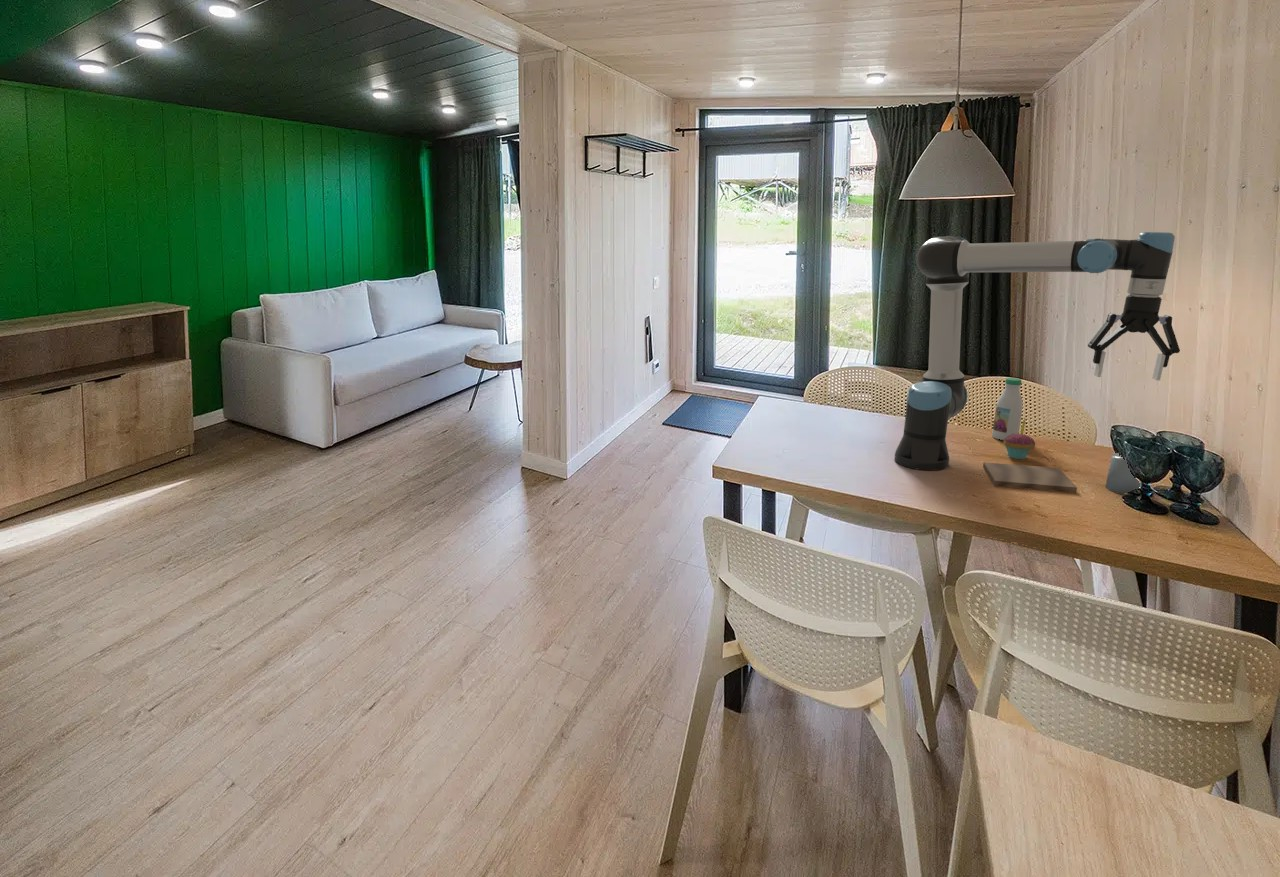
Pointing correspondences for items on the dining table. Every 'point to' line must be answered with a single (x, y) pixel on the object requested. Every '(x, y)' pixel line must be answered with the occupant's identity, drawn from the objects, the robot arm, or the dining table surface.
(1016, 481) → the walnut board
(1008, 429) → the milk bottle
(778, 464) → the dining table surface
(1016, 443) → the cupcake
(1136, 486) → the grey rounded block
